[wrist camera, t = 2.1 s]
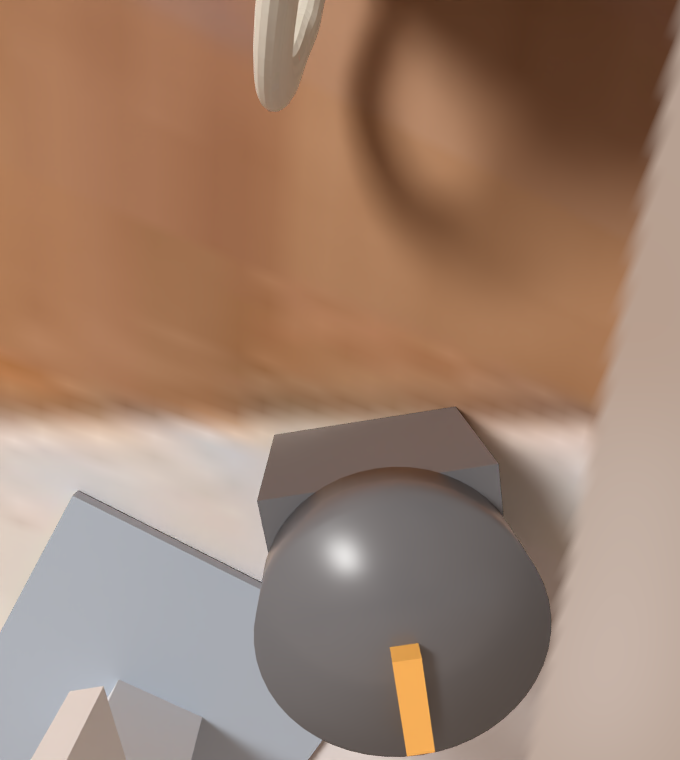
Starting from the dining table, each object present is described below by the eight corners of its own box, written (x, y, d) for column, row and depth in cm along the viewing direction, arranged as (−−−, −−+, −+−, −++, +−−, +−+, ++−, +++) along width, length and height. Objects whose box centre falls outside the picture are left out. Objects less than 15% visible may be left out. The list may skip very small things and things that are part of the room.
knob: (260, 426, 19) (221, 540, 12) (465, 394, 19) (550, 489, 12) (297, 602, 21) (281, 793, 14) (484, 574, 21) (567, 752, 14)
